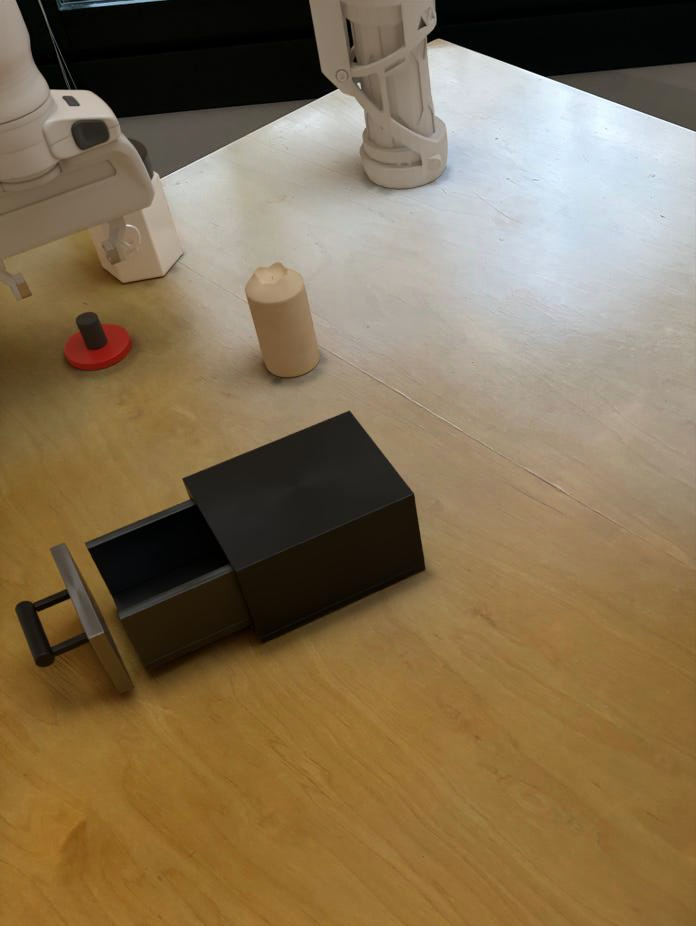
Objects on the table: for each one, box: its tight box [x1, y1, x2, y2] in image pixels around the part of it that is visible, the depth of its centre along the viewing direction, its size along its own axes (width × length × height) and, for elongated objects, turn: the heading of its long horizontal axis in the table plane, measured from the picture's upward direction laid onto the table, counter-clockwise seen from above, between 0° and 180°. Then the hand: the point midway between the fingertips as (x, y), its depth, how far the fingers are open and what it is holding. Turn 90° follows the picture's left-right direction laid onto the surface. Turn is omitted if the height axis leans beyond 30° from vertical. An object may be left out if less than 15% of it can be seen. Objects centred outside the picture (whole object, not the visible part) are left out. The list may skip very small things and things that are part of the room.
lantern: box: [308, 0, 449, 190], centre depth 118 cm, size 13×10×25 cm
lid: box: [63, 311, 133, 371], centre depth 108 cm, size 7×7×4 cm
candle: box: [244, 261, 321, 378], centre depth 102 cm, size 6×6×10 cm
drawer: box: [14, 498, 253, 695], centre depth 82 cm, size 18×10×7 cm, turn 119°
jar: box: [87, 137, 184, 284], centre depth 114 cm, size 9×8×12 cm
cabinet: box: [181, 410, 426, 644], centre depth 86 cm, size 15×12×9 cm
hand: (70, 277), depth 103 cm, fingers open, 8 cm apart
